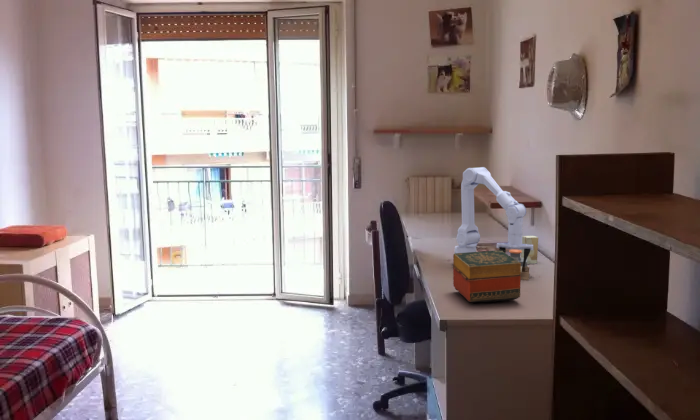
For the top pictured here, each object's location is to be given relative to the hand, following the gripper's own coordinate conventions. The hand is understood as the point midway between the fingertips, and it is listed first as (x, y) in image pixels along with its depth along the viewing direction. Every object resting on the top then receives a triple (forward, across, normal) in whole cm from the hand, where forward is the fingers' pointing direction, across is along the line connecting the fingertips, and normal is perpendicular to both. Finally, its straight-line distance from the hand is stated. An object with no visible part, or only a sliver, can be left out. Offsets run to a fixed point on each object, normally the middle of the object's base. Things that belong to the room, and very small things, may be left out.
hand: (514, 266), depth 251 cm
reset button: (0, 0, +10) cm, 10 cm away
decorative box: (+4, -8, -36) cm, 38 cm away
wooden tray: (+4, -4, 0) cm, 6 cm away
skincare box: (+4, +6, +28) cm, 28 cm away
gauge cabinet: (+4, 0, +10) cm, 11 cm away
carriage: (+3, 0, 0) cm, 3 cm away
